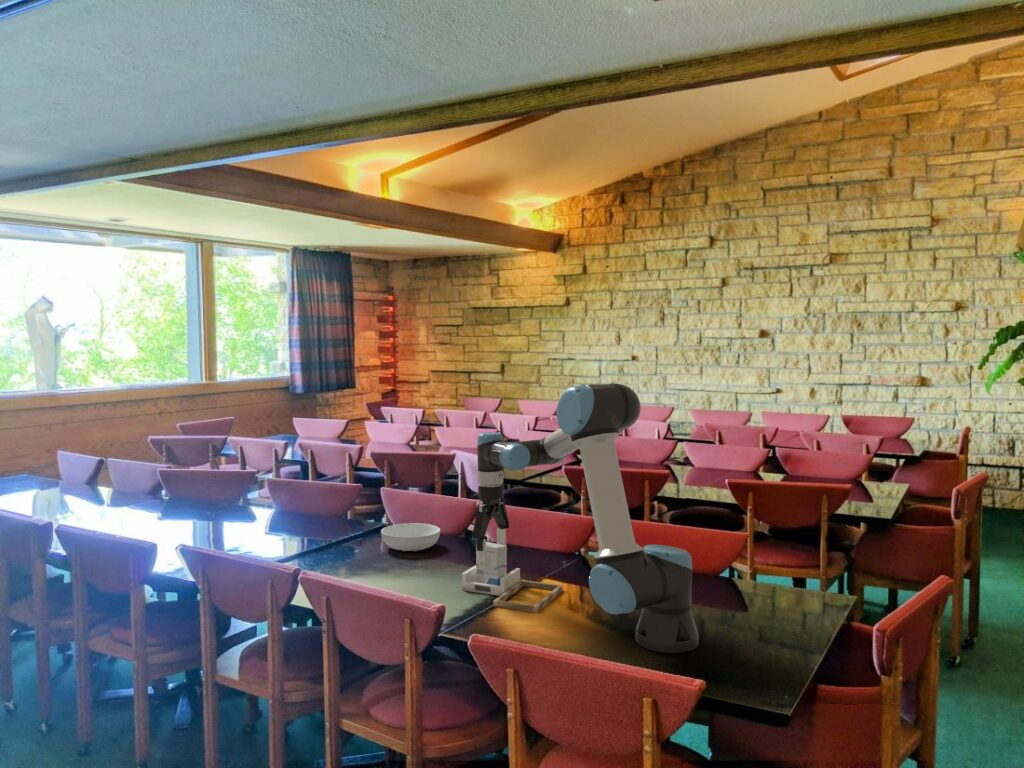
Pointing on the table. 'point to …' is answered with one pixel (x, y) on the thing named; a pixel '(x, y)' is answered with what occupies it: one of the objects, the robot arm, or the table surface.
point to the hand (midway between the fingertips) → (491, 555)
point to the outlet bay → (505, 584)
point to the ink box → (492, 564)
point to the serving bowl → (410, 536)
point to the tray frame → (524, 607)
